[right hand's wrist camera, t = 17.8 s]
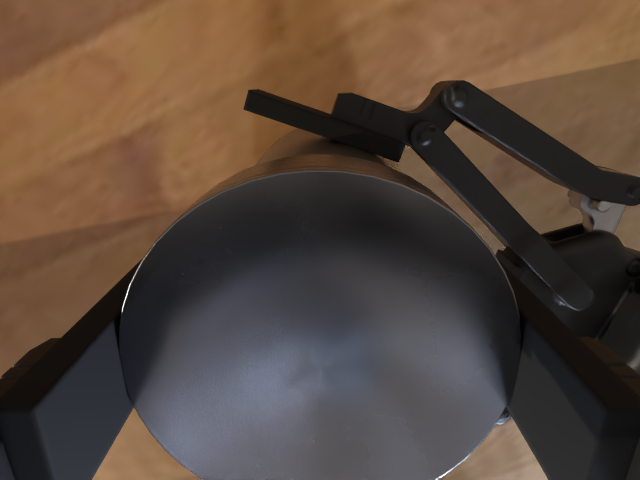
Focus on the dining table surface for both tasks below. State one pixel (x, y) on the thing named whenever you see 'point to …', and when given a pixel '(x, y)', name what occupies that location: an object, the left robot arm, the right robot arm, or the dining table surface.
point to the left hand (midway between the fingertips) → (225, 200)
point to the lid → (320, 328)
